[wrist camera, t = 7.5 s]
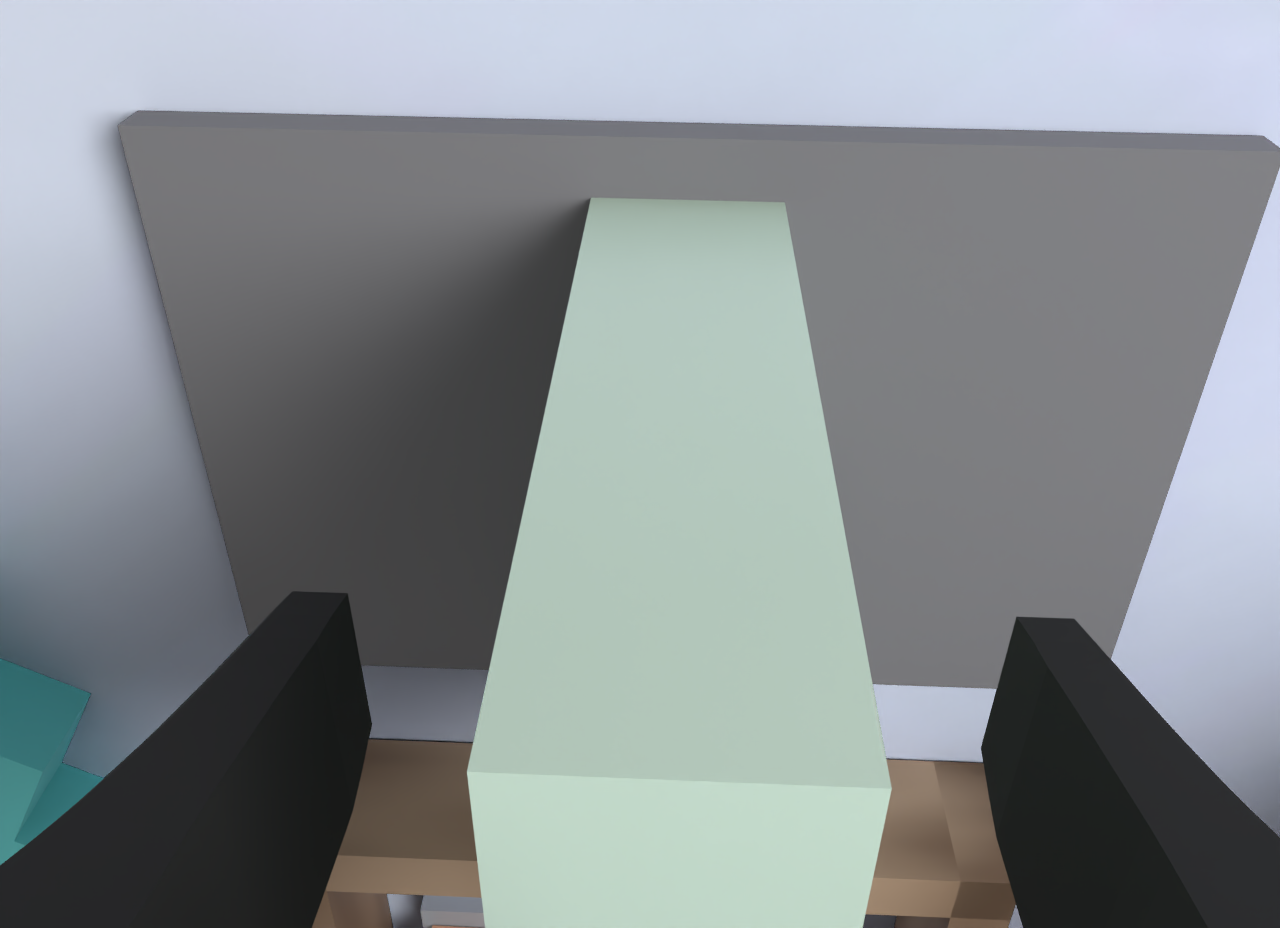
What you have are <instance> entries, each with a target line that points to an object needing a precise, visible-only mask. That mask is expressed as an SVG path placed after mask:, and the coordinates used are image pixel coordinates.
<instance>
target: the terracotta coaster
mask: <svg viewBox="0 0 1280 928" xmlns="http://www.w3.org/2000/svg"><path fill="white" fill-rule="evenodd" d="M432 928H472V927H453V926H435V925H433V926H432Z"/></svg>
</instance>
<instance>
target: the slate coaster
mask: <svg viewBox="0 0 1280 928" xmlns="http://www.w3.org/2000/svg"><path fill="white" fill-rule="evenodd" d="M420 912H421V918H422V924H423V928H432V926H433V925H435V926H453V927H472V928H485V922H484V914H483V905H482V898H476V897H453V896H429V895H424V896H423V901H422V905H421V910H420Z"/></svg>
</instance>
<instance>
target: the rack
mask: <svg viewBox="0 0 1280 928" xmlns="http://www.w3.org/2000/svg"><path fill="white" fill-rule="evenodd" d="M472 746H473V743H451V742H425V741H400V740H374V739H369V741H368V745H367V750H366V755H365V760H364V764H363V769H362V774H361V778H360V782H359V787H358V791H357V795H356V800H355V804H354V808H353V812H352V815H351V818H350V821H349V824H348V827H347V830H346V833H345V835H344V838H343V841H342V844H341V847H340V850H339V853H338V855H337V858H336V861H335V864H334V867H333V870H332V873H331V875H330V878H329V881H328V884H327V887H326V890H325V892H324V895H323V898H322V901H321V904H320V906H319V909H318V912H317V915H316V918H315V920H314V923H313V926H312V928H393V924H392V919H391V914H390V909H389V904H388V899H387V894H406V895H429V896H453V897H476V898H482V897H481V888H480V880H479V871H478V863H477V854H476V845H475V837H474V828H473V820H472V811H471V803H470V794H469V786H468V777H467V769H468V764H469V760H470V755H471V750H472ZM886 760H887V766H888V771H889V777H890V782H891V788H892V790H891V795H890V799H889V804H888V809H887V814H886V819H885V823H884V828H883V833H882V838H881V842H880V847H879V852H878V857H877V861H876V866H875V871H874V876H873V880H872V885H871V890H870V895H869V900H868V904H867V909H866V914H871V915H895V916H897V917H896V922H895V926H894V928H1008V926H1009V923H1010V920H1011V917H1012V914H1013V911H1014V908H1015V905H1016V902H1015V899H1014V895H1013V892H1012V889H1011V885H1010V882H1009V879H1008V875H1007V872H1006V869H1005V865H1004V862H1003V859H1002V855H1001V852H1000V848H999V845H998V841H997V838H996V833H995V827H994V822H993V817H992V811H991V806H990V800H989V795H988V788H987V782H986V776H985V770H984V763H965V762H940V761H914V760H888V759H886Z"/></svg>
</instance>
